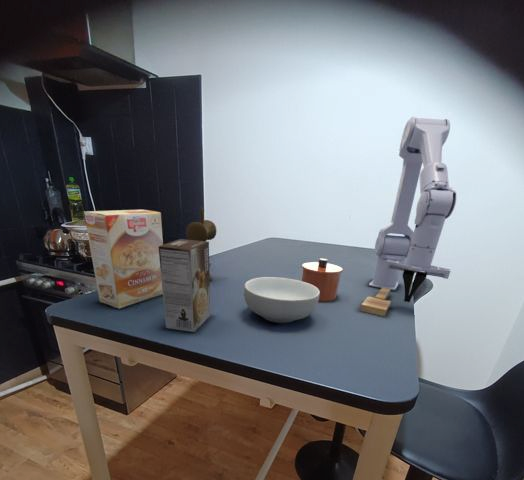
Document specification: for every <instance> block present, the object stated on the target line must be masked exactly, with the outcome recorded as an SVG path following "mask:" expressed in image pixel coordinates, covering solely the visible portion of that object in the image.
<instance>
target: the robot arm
mask: <svg viewBox="0 0 524 480" xmlns="http://www.w3.org/2000/svg"><path fill="white" fill-rule="evenodd" d="M450 130H451V123H450V120H449V119H448V118H445V119H440V118H439V119H438V118H425V117H415V116H411V117H409V119H408V120H407V121H406V123H405V126H404V128H403V131H402V134H401V139H400V145H399V149H398V151H399V153H398V156H399V157H400V158H401V159H403V161H402V169H401V173H400V177H399V183H398V188H397V192H396V198H395V202H394V206H393V211H392V216H391V220H390V223H388V224H387V225H385V226H383V227H382V228H381V229H379V231H378V235H377V238H376V240H375V244H374V253H375V256H377V261H376V265H375V269H374V274H373V278H372V280H371V281H370V282H369V284H368V286H369V287H374V288H379V289H382V288H387V289H390V291H396V290H397V288H398V286H399V284H400V283H399V282H398V278H399V275H400V272H402V281H403V286H404V298H403V302H404V303H405V302H406V303H410V302H411V300H412V298H413V296H414V294H415V293H416V292H417V290H418V289H419V287H420V286H421V285H422V284H423V283H424V281H426V280H427V276H431V277H437V278H442V279H446V280H448V279H449V276H450V274H451V272H452V270H451V269H450V268H444V267H440V266H436V265H432V263H433V260H434V258H435V257H434V256H435V253H436V250H437V247H438V245H439V241H440V237H441V234H442V231H443V228H444V226H445V223H446V222H445V221H446V219H448V218H450V216H452V214H453V211H454V210H455V207H456V203H457V191H456V190H454V189H453V187H450V184H449V173H448V167H447V165H446V163H444V162H442V161H443V160H442V159H443V156H442V155H443V146H444V145H445V143H446V142H447V139H448V136H449V134H450ZM422 166H423V168H422ZM418 183H419V191H420V196H419V198H418V201H417V203H416V209H415V218H414V225H415V227H414V230H412V228H411V227H410V226H409V221H410V216H411V212H412V209H413V204H414V200H415V195H416V191H417V187H418ZM391 234H392V235H391ZM393 234H394V235H393Z"/></svg>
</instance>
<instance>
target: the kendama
mask: <svg viewBox="0 0 524 480" xmlns="http://www.w3.org/2000/svg"><path fill="white" fill-rule="evenodd" d="M199 217H200V218H199V222H198V221H193V222H190V223H189V224H187V226H186V230H185V235H186V240H196V241H212V240H213V239H215V238H216V236H217V231H218V230H217V226H216V224H215V223H214V222H213V221H212V220H208V219H205V218H204V217H205V215H204V208H203V206H201V207H200V215H199ZM210 267H211V262H209V268H210ZM209 275H210V281H211V280H212V279H213V276H212V275H211V273H210V272H209Z"/></svg>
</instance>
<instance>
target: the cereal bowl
mask: <svg viewBox="0 0 524 480" xmlns="http://www.w3.org/2000/svg"><path fill="white" fill-rule="evenodd" d="M319 295H320V291H319V289H318V288H317V287H315V286H313V285H311V284H309V283H306V282H303V281H302V280H298V279H293V278H287V277H279V276H277V277H276V276H262V277H255V278H252V279H249V280H247V281H245V283H244V288H243V296H244V301H245V304H246V305H247V306H248V308H249V309H250V310H251V311H252V312H254V314H257V315H259V316H260V317H262V318H263V319H264V320H267V321H269V322H273V323H277V324H278V323H279V324H280V323H281V324H282V323H283V324H285V323H292V322H294V321H298V320H301V319H304V318H306V317H308V316H310V315H311V314H312V313H313V312H314V311H315V310H316V308H317V306H318V303H319V301H318V300H319Z"/></svg>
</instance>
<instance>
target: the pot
mask: <svg viewBox="0 0 524 480" xmlns="http://www.w3.org/2000/svg"><path fill="white" fill-rule="evenodd" d="M341 273H342V272H341ZM341 273H338V274H321V273H315V272H310V271H307V270H305V269H303V268H302V274H301V281H303V282H306V283H309V284H311V285H313V286H315V287H317V288H318V289H319V291H320V295H319V300H318V302H333V301H335V300H336V299H337V295H338V291H339V284H340V279H341Z"/></svg>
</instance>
